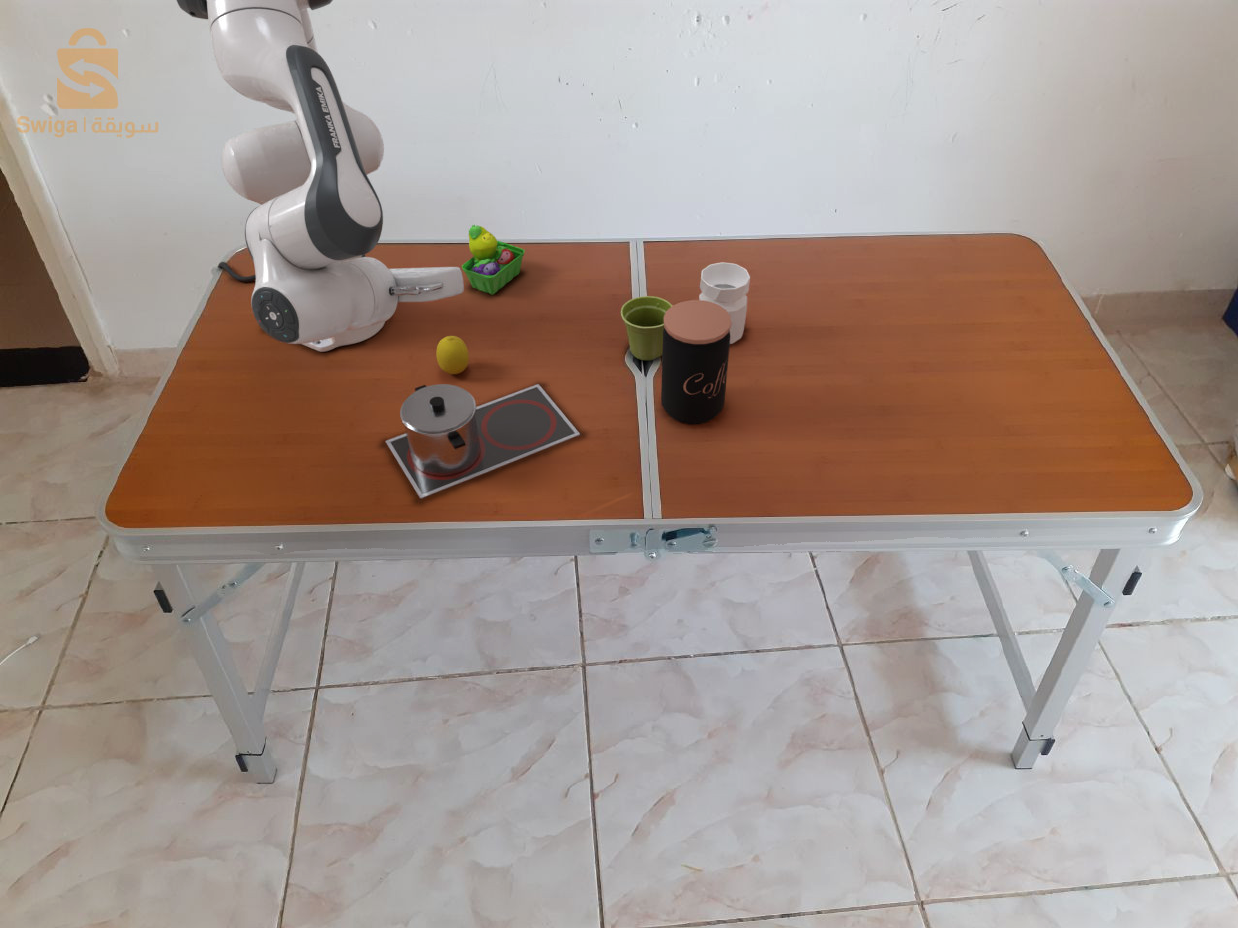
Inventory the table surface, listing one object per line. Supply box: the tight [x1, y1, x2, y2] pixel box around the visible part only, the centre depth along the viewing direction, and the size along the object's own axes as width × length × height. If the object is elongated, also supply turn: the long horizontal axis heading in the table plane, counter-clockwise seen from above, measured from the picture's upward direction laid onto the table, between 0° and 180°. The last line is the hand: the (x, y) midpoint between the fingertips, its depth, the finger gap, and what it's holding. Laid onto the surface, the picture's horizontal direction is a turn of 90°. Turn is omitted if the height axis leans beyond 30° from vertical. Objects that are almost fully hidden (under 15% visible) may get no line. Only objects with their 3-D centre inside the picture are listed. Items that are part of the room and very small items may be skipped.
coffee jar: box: [660, 299, 731, 426], centre depth 156 cm, size 11×11×18 cm
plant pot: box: [620, 295, 673, 361], centre depth 170 cm, size 9×9×9 cm
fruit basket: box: [461, 224, 526, 296], centre depth 186 cm, size 11×9×11 cm
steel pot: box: [399, 383, 480, 476], centre depth 150 cm, size 12×16×11 cm
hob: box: [385, 383, 581, 500], centre depth 156 cm, size 28×15×1 cm, turn 120°
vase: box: [698, 261, 751, 345], centre depth 173 cm, size 9×9×12 cm
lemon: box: [435, 335, 470, 375], centre depth 166 cm, size 6×6×8 cm
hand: (430, 275), depth 138 cm, fingers open, 8 cm apart
